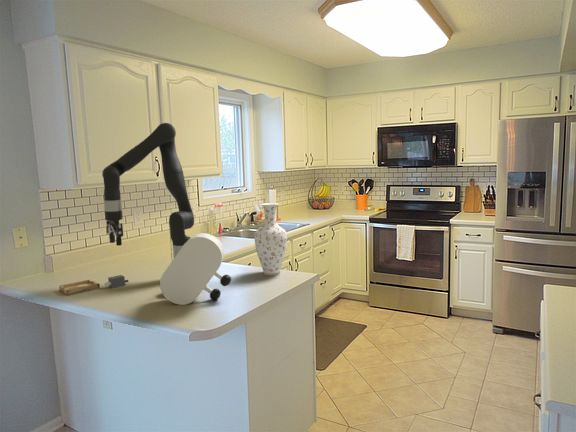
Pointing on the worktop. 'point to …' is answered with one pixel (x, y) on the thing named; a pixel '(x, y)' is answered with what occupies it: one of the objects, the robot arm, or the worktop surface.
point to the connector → (116, 281)
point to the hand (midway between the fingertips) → (115, 244)
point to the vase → (270, 242)
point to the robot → (194, 270)
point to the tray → (79, 287)
